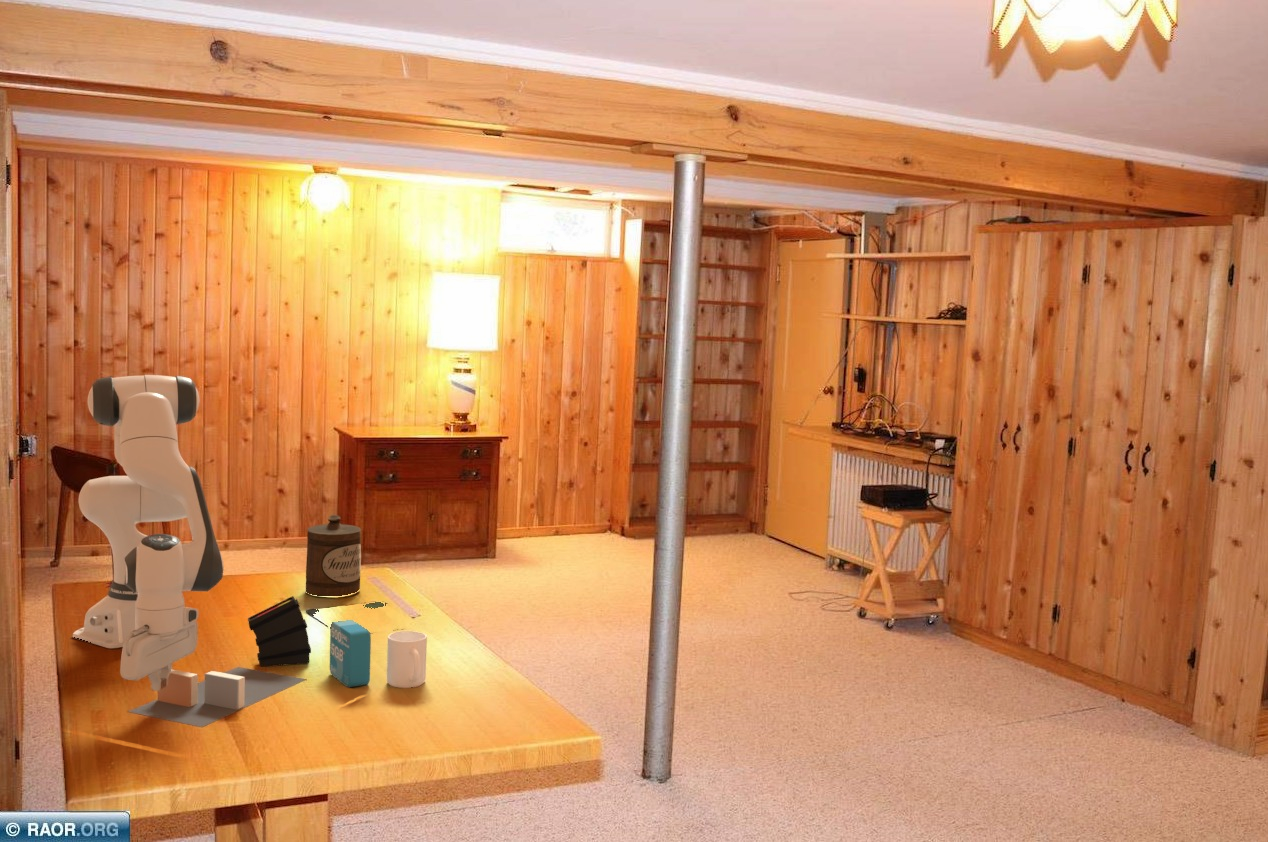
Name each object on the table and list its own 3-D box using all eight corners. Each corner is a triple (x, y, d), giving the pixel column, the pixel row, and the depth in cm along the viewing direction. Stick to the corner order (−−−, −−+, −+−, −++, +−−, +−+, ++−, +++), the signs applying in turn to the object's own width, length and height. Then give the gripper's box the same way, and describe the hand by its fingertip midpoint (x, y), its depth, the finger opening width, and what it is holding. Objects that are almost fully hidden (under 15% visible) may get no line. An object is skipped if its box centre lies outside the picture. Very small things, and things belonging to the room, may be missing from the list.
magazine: (324, 656, 259) (295, 598, 255) (269, 684, 255) (239, 626, 252) (322, 651, 262) (294, 594, 259) (268, 679, 259) (238, 622, 255)
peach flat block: (157, 700, 229) (157, 671, 228) (165, 697, 231) (165, 668, 230) (189, 706, 226) (189, 677, 226) (197, 703, 228) (197, 674, 228)
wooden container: (332, 601, 313) (334, 522, 311) (294, 592, 320) (295, 515, 318) (371, 591, 326) (372, 515, 324) (333, 583, 333) (334, 508, 331)
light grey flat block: (204, 703, 229) (204, 673, 228) (212, 699, 231) (212, 670, 230) (237, 709, 226) (237, 680, 225) (244, 706, 228) (244, 676, 227)
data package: (329, 673, 252) (330, 620, 251) (348, 670, 255) (349, 618, 254) (350, 689, 242) (351, 634, 241) (370, 686, 245) (371, 631, 244)
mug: (435, 691, 243) (437, 644, 242) (397, 696, 240) (398, 648, 239) (419, 674, 254) (420, 629, 253) (382, 678, 250) (383, 632, 249)
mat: (127, 714, 222) (127, 711, 222) (238, 669, 252) (238, 666, 252) (201, 730, 216) (201, 727, 216) (306, 681, 246) (306, 679, 246)
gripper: (142, 635, 212) (141, 707, 213) (203, 608, 232) (202, 674, 233) (111, 631, 213) (111, 704, 214) (175, 605, 233) (174, 671, 234)
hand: (159, 688), depth 224 cm, fingers closed
